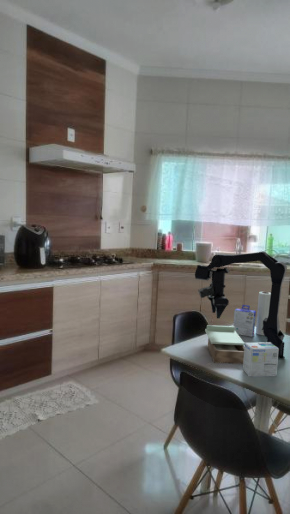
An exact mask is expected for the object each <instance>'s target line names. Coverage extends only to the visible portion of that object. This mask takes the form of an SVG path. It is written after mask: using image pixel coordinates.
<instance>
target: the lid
mask: <svg viewBox="0 0 290 514" xmlns="http://www.w3.org/2000/svg"><path fill="white" fill-rule="evenodd" d="M204 331H205V333H206V335H207V338H209V340H210V342H211V344H228V345H243V346H245V343H246V342H244V340H243V339H242V338H241V336H240V335H239V334H237V333H236V331H235V327H234V326H233V325H231V326H230V325H213V324H211V325H210V324H207V325H206V328H205V330H204Z"/></svg>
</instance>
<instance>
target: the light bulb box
mask: <svg viewBox="0 0 290 514" xmlns="http://www.w3.org/2000/svg"><path fill="white" fill-rule="evenodd" d="M244 343H245V345H243V346H244V361H243V364H242V370H243V371H244V372H245V374H246V375H248V376H249V377H252V378H253V377H277V373H278V372H277V371H278V360H279V358H278V351H279V348H278V347H276V346H275V345H273V344H272V343H271V342H267V341H266V342H265V341H263V342H261V341H260V342H244Z"/></svg>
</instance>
